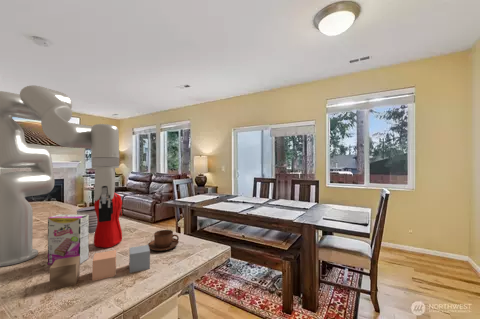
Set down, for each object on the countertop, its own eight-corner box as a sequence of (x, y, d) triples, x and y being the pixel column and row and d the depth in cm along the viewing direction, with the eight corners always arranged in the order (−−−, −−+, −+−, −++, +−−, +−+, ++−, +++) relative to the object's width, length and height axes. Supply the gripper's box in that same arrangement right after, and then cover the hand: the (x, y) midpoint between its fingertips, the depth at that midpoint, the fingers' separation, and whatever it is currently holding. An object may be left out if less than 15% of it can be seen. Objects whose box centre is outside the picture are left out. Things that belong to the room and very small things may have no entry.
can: (83, 235, 105) (83, 210, 105) (72, 231, 111) (72, 207, 111) (108, 229, 114) (108, 206, 114) (96, 225, 120) (96, 203, 120)
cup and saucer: (177, 240, 99) (177, 226, 99) (180, 250, 88) (180, 235, 88) (148, 244, 95) (148, 229, 95) (147, 255, 84) (147, 239, 84)
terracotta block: (92, 281, 66) (92, 260, 66) (94, 271, 71) (94, 253, 71) (115, 276, 69) (115, 256, 69) (116, 267, 74) (116, 249, 74)
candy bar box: (46, 265, 75) (46, 217, 75) (58, 259, 80) (58, 214, 80) (79, 265, 75) (80, 217, 75) (89, 258, 80) (89, 213, 80)
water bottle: (112, 249, 88) (113, 187, 88) (89, 247, 91) (90, 186, 91) (128, 241, 97) (129, 185, 97) (107, 239, 100) (107, 184, 100)
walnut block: (49, 290, 61) (49, 268, 61) (55, 279, 67) (55, 259, 67) (76, 284, 64) (76, 263, 64) (79, 274, 69) (79, 255, 69)
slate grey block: (129, 273, 71) (129, 254, 71) (129, 265, 76) (129, 247, 76) (149, 268, 73) (149, 250, 73) (148, 261, 79) (148, 244, 79)
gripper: (94, 163, 76) (95, 213, 76) (87, 164, 61) (88, 226, 61) (119, 163, 79) (120, 210, 79) (118, 163, 64) (119, 222, 64)
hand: (106, 217), depth 70 cm, fingers open, 9 cm apart
